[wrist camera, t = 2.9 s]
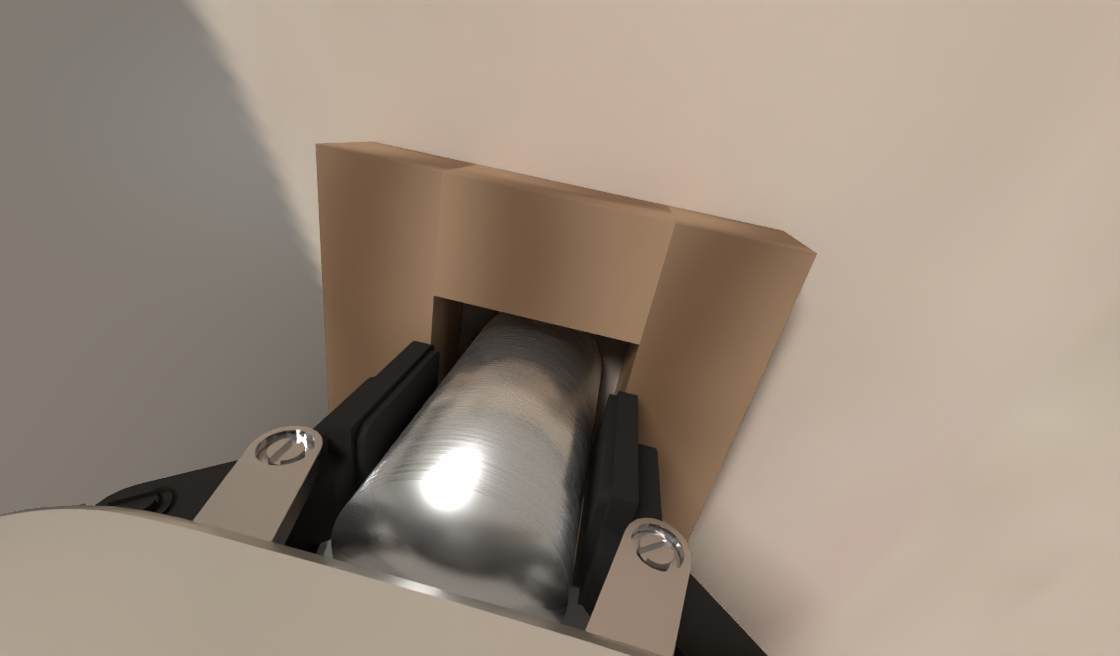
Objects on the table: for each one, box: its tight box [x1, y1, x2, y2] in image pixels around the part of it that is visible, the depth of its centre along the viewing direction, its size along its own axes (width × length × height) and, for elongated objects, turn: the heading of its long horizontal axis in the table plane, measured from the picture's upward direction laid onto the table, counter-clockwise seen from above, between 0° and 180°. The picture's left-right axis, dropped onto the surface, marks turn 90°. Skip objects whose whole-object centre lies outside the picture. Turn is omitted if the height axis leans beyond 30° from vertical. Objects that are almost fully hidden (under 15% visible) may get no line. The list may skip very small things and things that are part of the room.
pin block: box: [316, 142, 817, 567], centre depth 14 cm, size 12×12×2 cm
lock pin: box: [331, 312, 602, 624], centre depth 11 cm, size 4×4×8 cm
